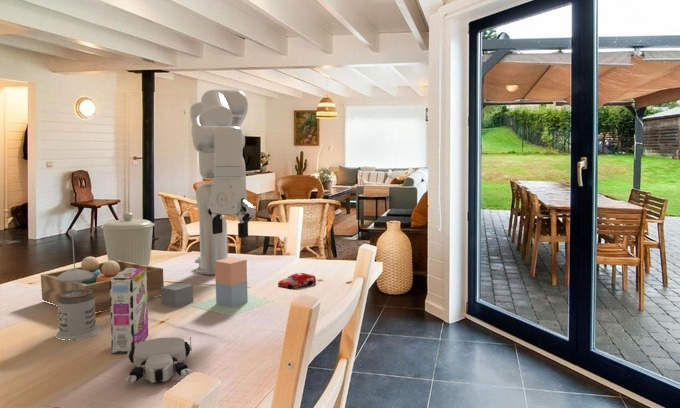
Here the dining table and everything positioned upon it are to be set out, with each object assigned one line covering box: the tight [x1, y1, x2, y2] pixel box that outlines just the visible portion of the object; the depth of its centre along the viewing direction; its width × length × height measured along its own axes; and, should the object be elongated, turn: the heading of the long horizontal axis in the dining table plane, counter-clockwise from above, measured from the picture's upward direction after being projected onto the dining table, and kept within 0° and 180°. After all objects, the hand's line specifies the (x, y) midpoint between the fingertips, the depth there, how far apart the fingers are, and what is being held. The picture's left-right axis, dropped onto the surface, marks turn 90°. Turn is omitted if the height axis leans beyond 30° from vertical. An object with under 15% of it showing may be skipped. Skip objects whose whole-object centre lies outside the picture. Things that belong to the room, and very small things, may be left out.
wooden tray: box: [40, 260, 165, 313], centre depth 151 cm, size 23×24×8 cm
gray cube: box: [160, 282, 194, 308], centre depth 143 cm, size 6×6×6 cm
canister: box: [100, 211, 156, 266], centre depth 188 cm, size 18×18×21 cm
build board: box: [189, 295, 273, 317], centre depth 142 cm, size 16×16×1 cm
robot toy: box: [125, 336, 193, 384], centre depth 101 cm, size 12×4×15 cm
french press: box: [55, 228, 101, 341], centre depth 122 cm, size 10×12×25 cm
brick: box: [214, 256, 248, 286], centre depth 141 cm, size 6×6×6 cm
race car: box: [277, 272, 317, 290], centre depth 165 cm, size 13×5×4 cm, turn 127°
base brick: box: [215, 280, 249, 308], centre depth 142 cm, size 6×6×6 cm
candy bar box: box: [109, 268, 149, 354], centre depth 115 cm, size 11×5×16 cm, turn 5°
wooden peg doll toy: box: [79, 256, 120, 285], centre depth 152 cm, size 18×17×12 cm
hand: (230, 235), depth 141 cm, fingers open, 9 cm apart
